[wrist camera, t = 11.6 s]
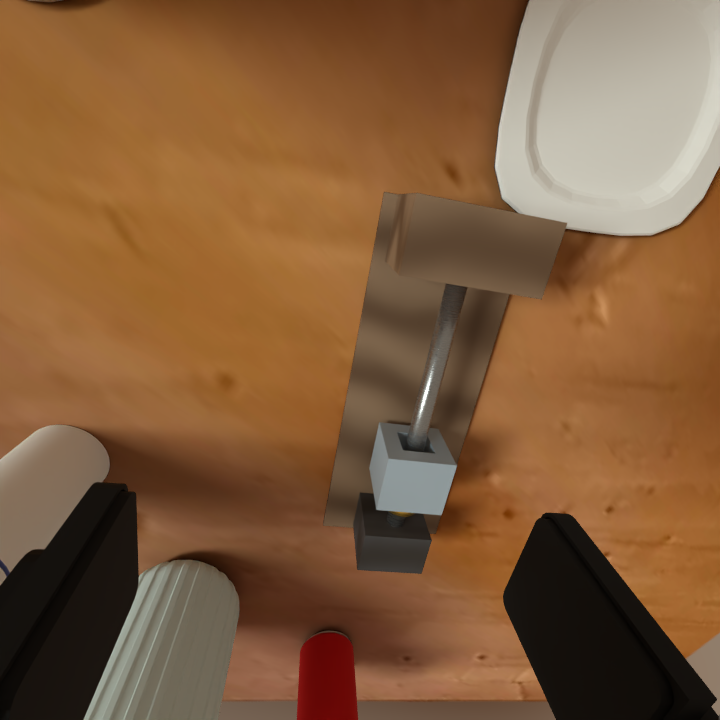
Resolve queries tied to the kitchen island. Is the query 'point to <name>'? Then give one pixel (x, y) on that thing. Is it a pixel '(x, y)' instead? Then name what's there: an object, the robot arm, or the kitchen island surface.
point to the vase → (171, 647)
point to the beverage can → (327, 678)
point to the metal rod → (432, 377)
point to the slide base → (426, 346)
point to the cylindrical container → (44, 487)
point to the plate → (612, 113)
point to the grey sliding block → (410, 472)
